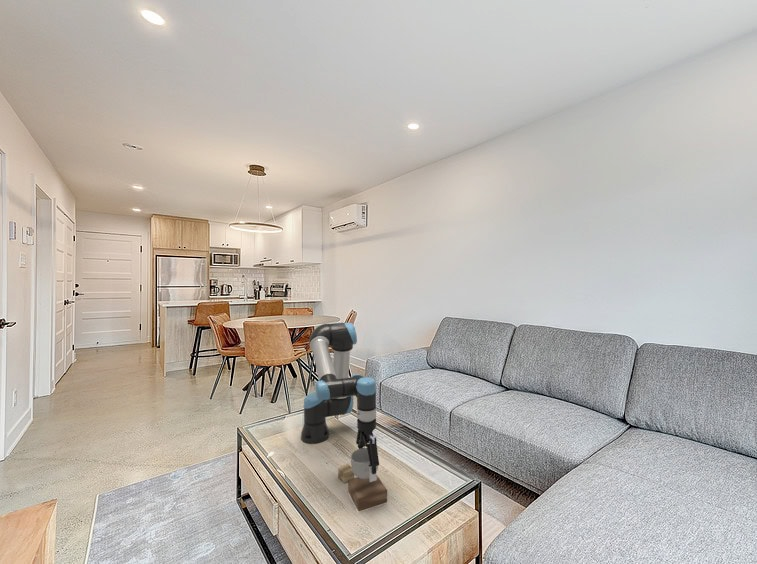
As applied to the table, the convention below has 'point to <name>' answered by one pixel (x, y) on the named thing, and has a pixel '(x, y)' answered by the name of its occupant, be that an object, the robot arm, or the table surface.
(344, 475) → the oak cube
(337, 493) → the table surface
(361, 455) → the teacup
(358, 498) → the pedestal block
